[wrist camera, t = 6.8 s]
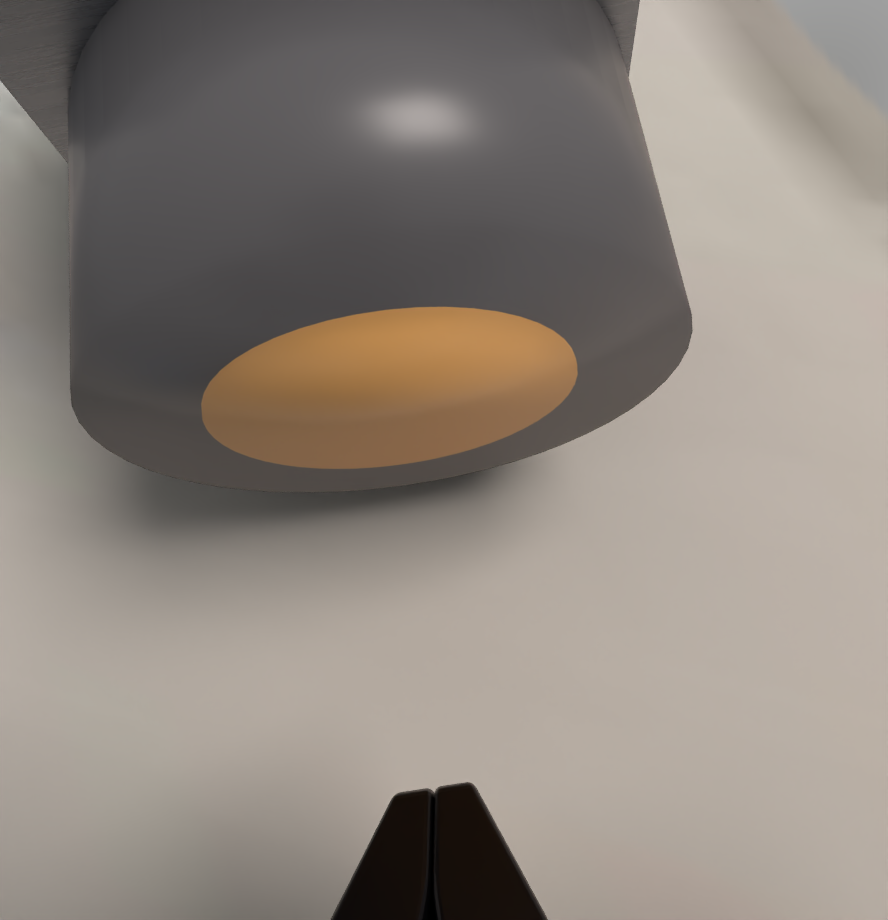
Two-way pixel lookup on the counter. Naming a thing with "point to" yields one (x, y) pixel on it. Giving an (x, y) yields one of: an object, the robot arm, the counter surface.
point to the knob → (360, 239)
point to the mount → (73, 22)
